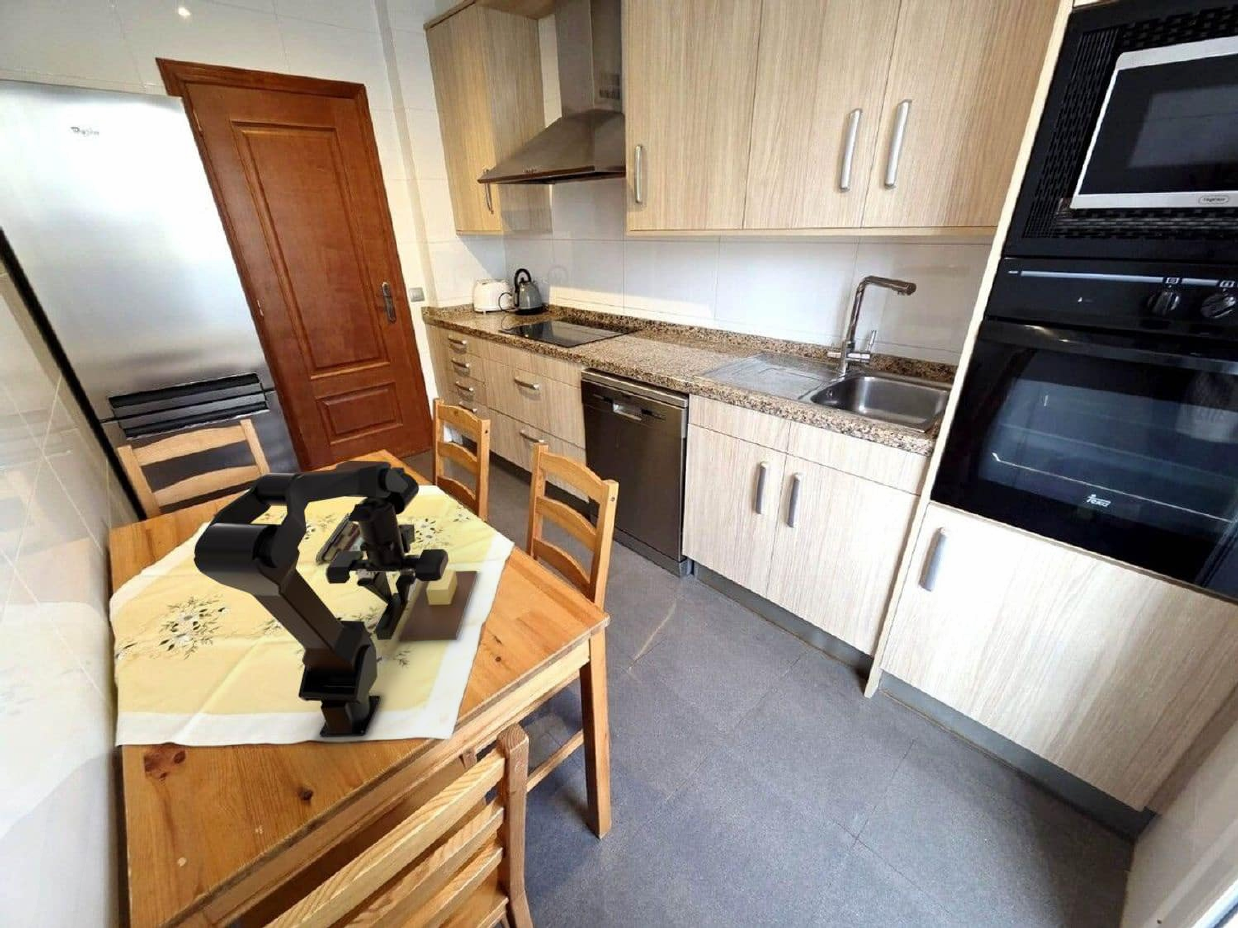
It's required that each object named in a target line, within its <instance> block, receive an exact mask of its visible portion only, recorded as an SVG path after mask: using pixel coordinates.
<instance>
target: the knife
mask: <svg viewBox="0 0 1238 928" xmlns="http://www.w3.org/2000/svg"><path fill="white" fill-rule="evenodd" d="M419 582H420V580H418V579H417V578H416V580H415V582H414V584H412V585H410V590H409V595H408V600H407V603H406V605H403V604H402V602H401V600H400V597H399V594H398V592H393V593H392V597H391V599H390V601H389V603H388V604H387V605H386V607H385V609H384V611H382V614H381V616H380V618H379V619H378V621H377V624H376V626H375V627H374V633H375V636H376V639H377V641H391V640H392V638H393V637H394V634H395V632H396V630H397V628H398V625H399V623H400V621H401V619H402V617H403V615H404V612H405V611H406V608H407V606H408V604H409V603H410V602H411V599H412V597H413V595H414V594H415V591H416V589H417V586H418V584H419Z"/></svg>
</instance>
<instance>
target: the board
mask: <svg viewBox="0 0 1238 928" xmlns="http://www.w3.org/2000/svg"><path fill="white" fill-rule="evenodd" d="M455 572H456V577H457V583H458V584H457V587H456V590H455V592H454V595H453V598H452V600H451V603H450V604H439V605H429V602H428V597H427V592H426V589H427V587H428V584H429V582H430V581H423V583H422V585H421V587H420V590H419V592H418V594H417V596H416V599H415V600H414V603H413V605H412V607H411V609H410V611H409V613H408V616H407V618H406V620H405V622H404V625H403V627H402V628H401V631H400V633H399V636H398V640H399V642H409V641H411V642H413V641H415V642H416V641H443V640H444V641H445V640H446V641H447V640H448V641H449V640H458V635H459V632H460V630H461V627H462V623H463V620H464V617H465V615H466V611H467V608H468V605H469V601H470V599H471V596H472V593H473V590H474V586H475V584H476V579H477V576H478V571H477V570H455Z"/></svg>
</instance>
